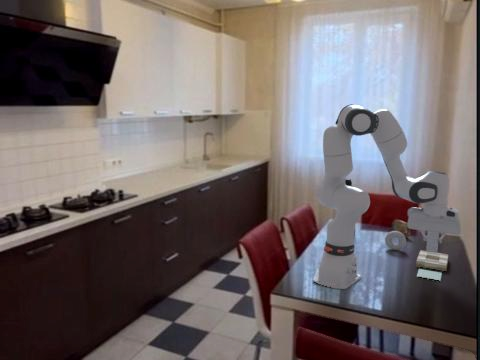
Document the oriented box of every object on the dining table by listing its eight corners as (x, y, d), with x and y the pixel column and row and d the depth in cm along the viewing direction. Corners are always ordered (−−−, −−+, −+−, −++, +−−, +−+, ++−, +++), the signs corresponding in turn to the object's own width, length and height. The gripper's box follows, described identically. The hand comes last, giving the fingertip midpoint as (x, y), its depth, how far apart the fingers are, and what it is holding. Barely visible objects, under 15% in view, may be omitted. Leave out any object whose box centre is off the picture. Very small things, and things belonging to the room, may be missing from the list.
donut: (405, 250, 198) (406, 231, 196) (405, 252, 195) (406, 233, 193) (384, 247, 201) (385, 229, 200) (384, 249, 198) (385, 230, 197)
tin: (391, 231, 230) (391, 217, 228) (395, 231, 230) (396, 217, 229) (406, 239, 215) (407, 224, 214) (411, 239, 215) (412, 224, 214)
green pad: (440, 281, 160) (440, 280, 160) (416, 277, 165) (416, 275, 164) (441, 274, 168) (441, 272, 168) (418, 270, 172) (419, 268, 172)
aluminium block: (436, 253, 162) (438, 232, 160) (426, 251, 164) (427, 230, 162) (437, 250, 165) (439, 229, 164) (426, 248, 167) (428, 228, 166)
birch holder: (446, 272, 170) (446, 265, 170) (416, 266, 176) (416, 260, 175) (447, 260, 184) (448, 254, 183) (419, 255, 190) (420, 250, 189)
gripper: (407, 208, 164) (404, 239, 166) (462, 214, 154) (459, 247, 156) (409, 205, 169) (406, 235, 172) (463, 210, 159) (460, 243, 161)
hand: (432, 241), depth 164 cm, fingers closed on aluminium block, 4 cm apart
